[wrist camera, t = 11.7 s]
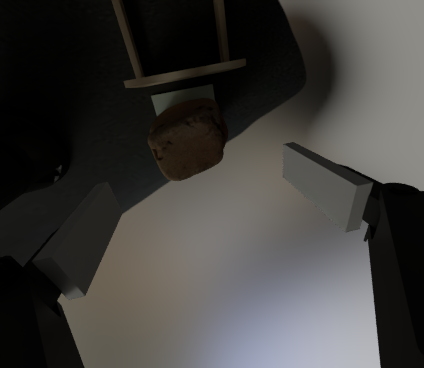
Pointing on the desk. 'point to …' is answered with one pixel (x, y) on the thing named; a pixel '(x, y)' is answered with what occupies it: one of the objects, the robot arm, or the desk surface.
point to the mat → (181, 97)
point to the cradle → (183, 74)
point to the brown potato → (188, 138)
